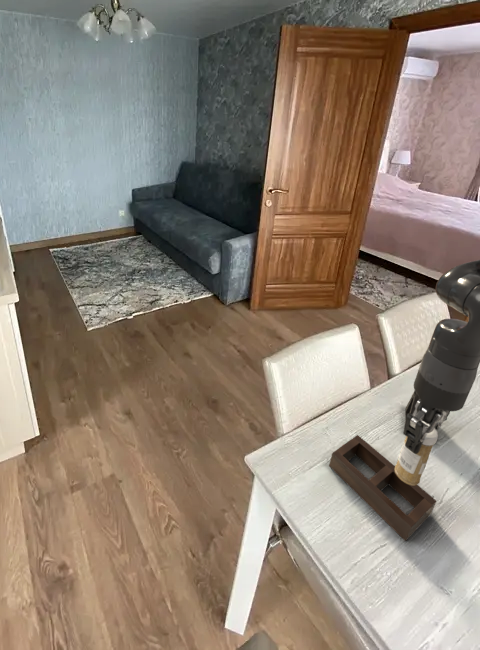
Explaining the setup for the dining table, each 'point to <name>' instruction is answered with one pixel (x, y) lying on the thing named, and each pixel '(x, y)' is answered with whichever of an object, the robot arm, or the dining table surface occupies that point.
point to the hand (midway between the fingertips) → (418, 443)
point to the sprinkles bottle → (415, 459)
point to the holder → (382, 486)
